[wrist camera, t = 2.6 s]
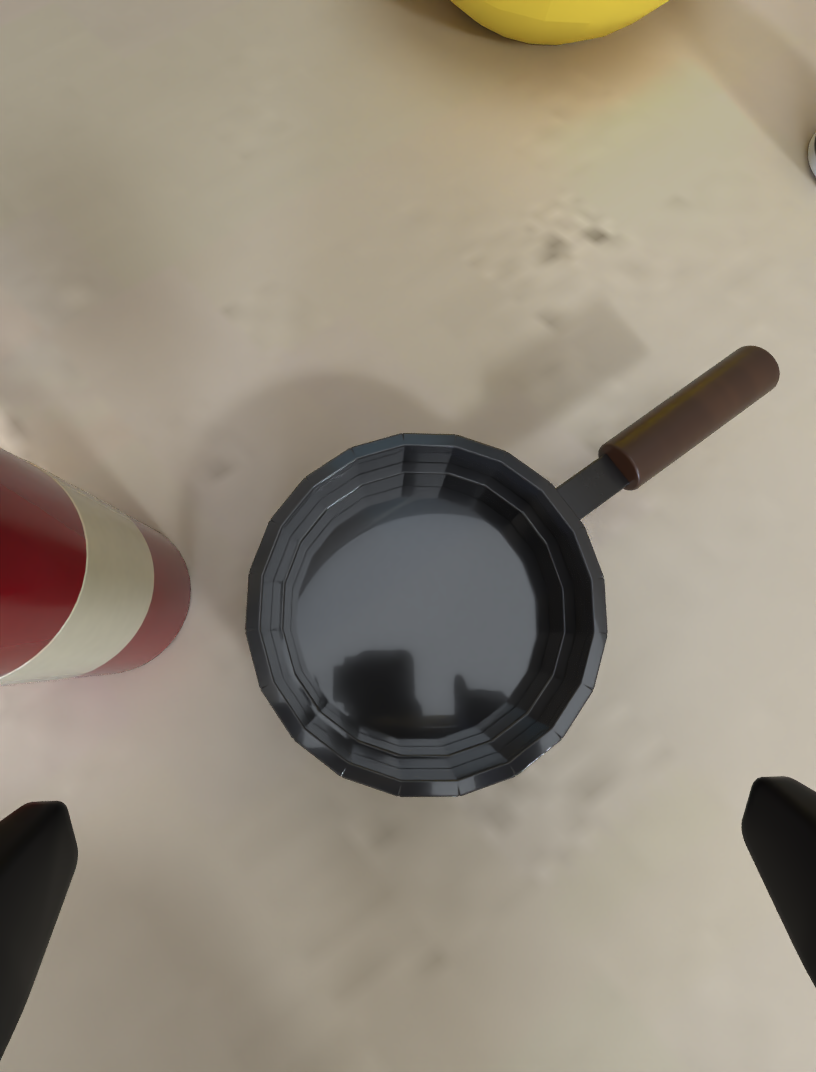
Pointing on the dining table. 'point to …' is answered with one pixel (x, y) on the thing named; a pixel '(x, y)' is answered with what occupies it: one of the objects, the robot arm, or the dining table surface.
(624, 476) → the pan handle
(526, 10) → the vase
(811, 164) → the supplement bottle
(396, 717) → the pan
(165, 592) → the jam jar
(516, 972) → the dining table surface
